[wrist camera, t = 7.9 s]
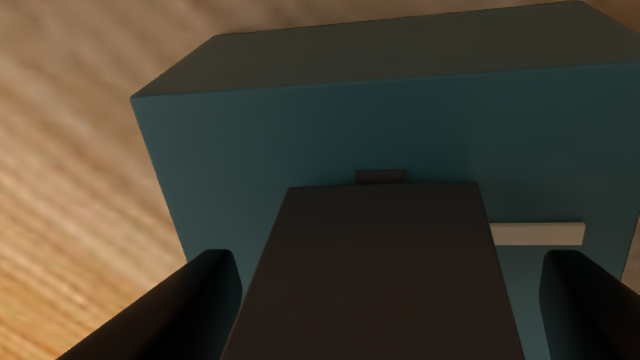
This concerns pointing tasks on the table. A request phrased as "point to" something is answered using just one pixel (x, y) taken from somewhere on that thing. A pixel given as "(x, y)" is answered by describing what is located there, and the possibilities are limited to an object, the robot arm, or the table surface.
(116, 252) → the table surface
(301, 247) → the dark grey small block
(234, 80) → the toaster base
